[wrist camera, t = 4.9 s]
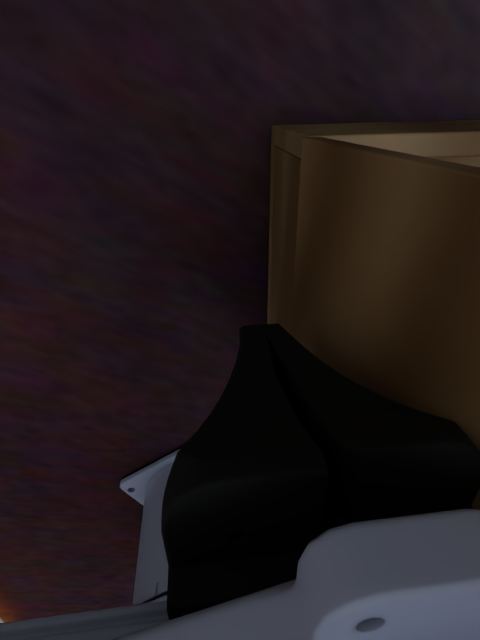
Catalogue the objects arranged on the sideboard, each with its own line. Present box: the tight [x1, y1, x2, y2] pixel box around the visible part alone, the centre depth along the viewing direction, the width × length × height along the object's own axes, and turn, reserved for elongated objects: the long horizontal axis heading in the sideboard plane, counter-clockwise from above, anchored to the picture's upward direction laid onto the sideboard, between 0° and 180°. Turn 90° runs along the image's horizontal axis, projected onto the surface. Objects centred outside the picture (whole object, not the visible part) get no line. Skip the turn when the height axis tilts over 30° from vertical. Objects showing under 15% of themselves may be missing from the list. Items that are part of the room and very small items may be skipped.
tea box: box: [267, 120, 480, 335], centre depth 19 cm, size 12×13×6 cm
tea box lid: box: [291, 137, 480, 509], centre depth 10 cm, size 13×13×1 cm
